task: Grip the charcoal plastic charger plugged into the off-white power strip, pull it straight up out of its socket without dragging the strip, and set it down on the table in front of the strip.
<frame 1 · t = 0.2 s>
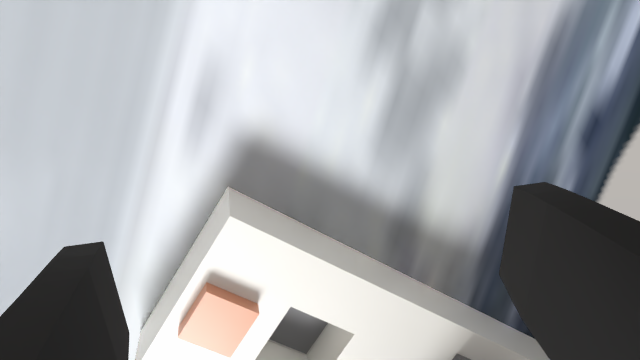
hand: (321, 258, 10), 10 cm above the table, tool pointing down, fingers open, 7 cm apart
power strip: (368, 336, 24), on the table, touching charger
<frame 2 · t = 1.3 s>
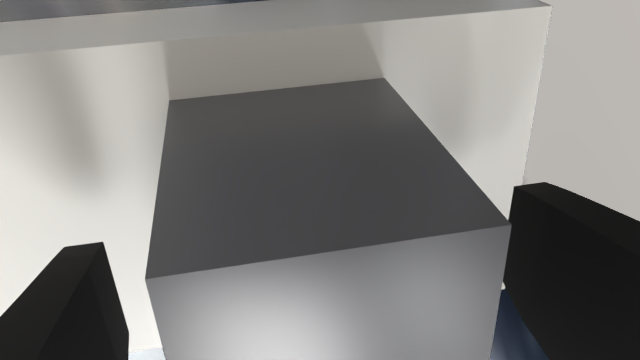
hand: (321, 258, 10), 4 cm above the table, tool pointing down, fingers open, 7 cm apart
power strip: (120, 157, 13), on the table, touching charger
charger: (278, 163, 13), point 1 cm above the table, touching power strip
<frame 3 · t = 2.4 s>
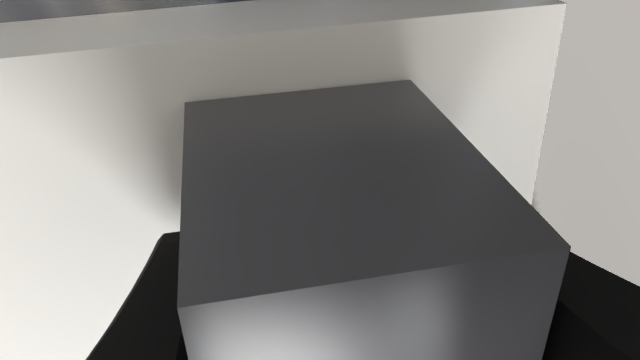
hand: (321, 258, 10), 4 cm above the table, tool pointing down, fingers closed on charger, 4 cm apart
power strip: (114, 163, 13), on the table, touching charger
charger: (293, 165, 12), point 1 cm above the table, touching gripper, power strip
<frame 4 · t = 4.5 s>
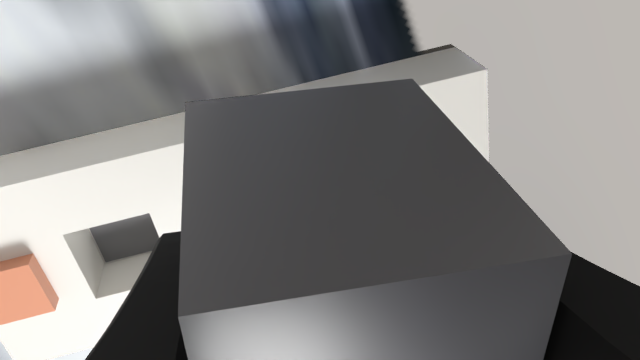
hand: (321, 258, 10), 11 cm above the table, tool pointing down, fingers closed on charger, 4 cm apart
power strip: (234, 184, 21), on the table
charger: (294, 163, 12), point 7 cm above the table, touching gripper
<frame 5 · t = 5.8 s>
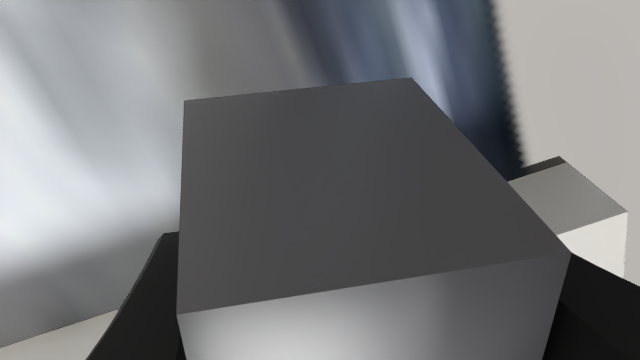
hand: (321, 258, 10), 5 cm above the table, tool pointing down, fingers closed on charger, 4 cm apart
power strip: (296, 334, 17), on the table
charger: (293, 162, 12), point 1 cm above the table, touching gripper
when the fingers open (4 cm above the table, at t = 6.6 s): charger drops 1 cm, on the table.
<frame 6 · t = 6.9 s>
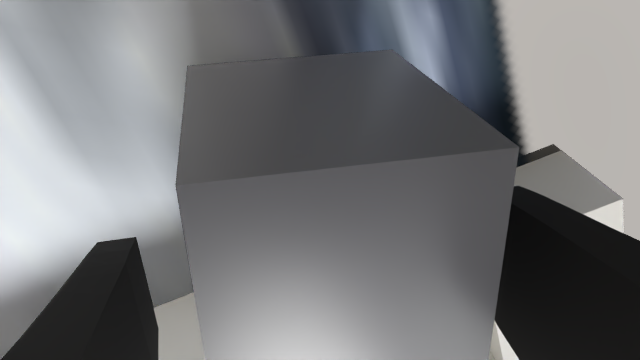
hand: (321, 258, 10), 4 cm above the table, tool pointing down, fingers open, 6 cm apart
power strip: (296, 338, 17), on the table
charger: (287, 141, 13), on the table
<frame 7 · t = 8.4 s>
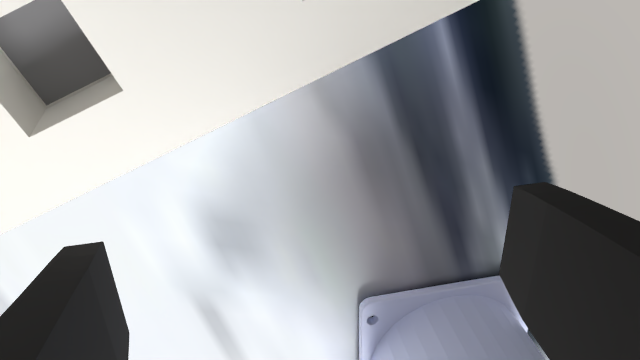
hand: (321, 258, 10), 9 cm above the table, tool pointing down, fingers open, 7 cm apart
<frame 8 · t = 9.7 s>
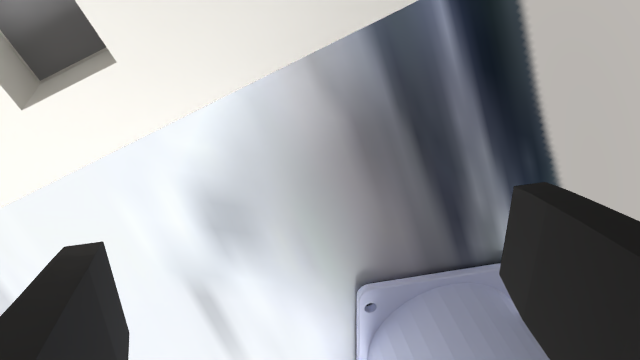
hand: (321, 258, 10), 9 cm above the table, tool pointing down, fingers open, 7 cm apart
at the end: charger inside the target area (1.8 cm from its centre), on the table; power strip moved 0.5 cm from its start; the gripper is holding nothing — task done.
